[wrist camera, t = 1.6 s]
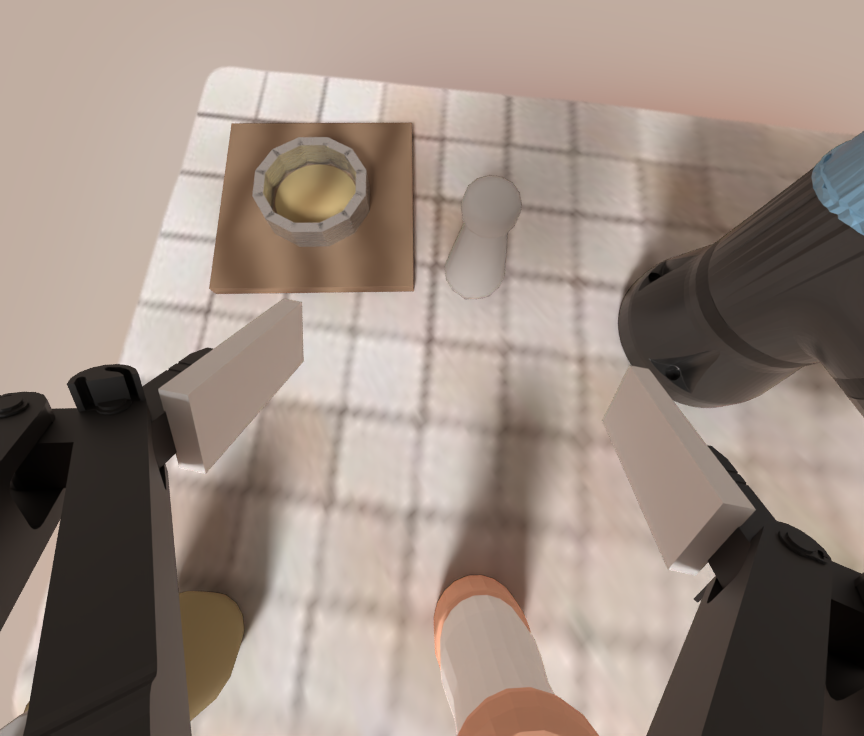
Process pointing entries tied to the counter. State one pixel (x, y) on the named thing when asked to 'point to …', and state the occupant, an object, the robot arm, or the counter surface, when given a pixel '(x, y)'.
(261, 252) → the collar board
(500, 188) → the salt shaker
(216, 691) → the squeeze bottle
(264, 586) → the counter surface
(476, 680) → the pepper shaker
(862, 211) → the robot arm
